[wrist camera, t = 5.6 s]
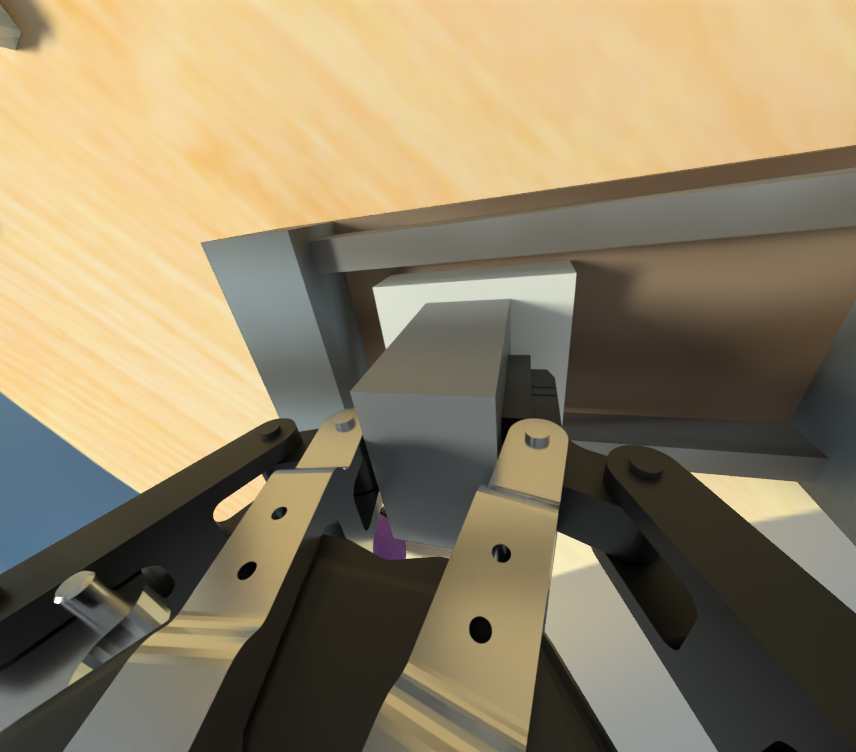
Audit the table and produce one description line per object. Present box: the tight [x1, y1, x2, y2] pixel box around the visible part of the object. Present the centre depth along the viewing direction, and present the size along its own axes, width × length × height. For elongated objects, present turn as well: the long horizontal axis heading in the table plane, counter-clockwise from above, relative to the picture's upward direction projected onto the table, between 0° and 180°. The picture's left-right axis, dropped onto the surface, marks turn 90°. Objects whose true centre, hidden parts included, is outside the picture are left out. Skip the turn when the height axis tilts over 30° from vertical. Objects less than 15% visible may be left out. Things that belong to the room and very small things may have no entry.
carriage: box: [350, 260, 577, 549], centre depth 11 cm, size 6×7×8 cm
